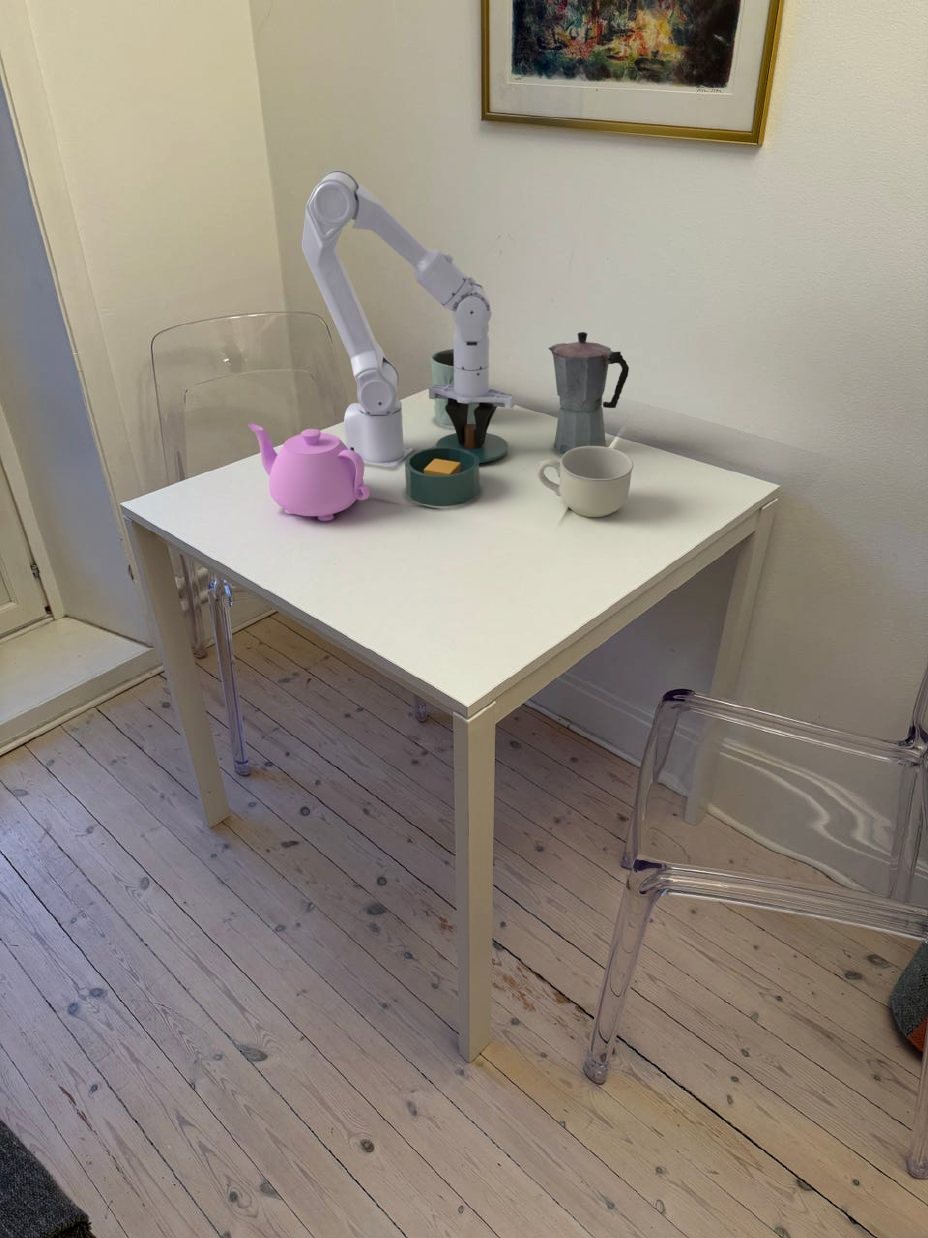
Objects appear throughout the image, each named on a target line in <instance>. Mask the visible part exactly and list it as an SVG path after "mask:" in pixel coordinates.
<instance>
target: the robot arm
mask: <svg viewBox="0 0 928 1238" xmlns="http://www.w3.org/2000/svg"><path fill="white" fill-rule="evenodd" d="M351 220H354V222H353V224H352V229H354V230H355V229H356V230H365V231H372V232H373V233H375V234H376V235H377V236H378V237H379V238H380V239H382V240H383V241H384V242H385V243H386V244H387V245H388V246H390V247H391V248H392V249H393V250H394V251H396V253H397V254H398V255H400V256H401V257H402V258H403V259H404V260H406V262H408V264H410V265H411V266H412V267H413V278H414V281H415V282H417V283H418V285H420V286H421V287H422V288H423V289H424V290H425V291H426V292H427V293H429V294H430V295H431V296H432V297H433V298H434V300H436V301H437V302H438V303H439V304H440V305H441V306H442V307H443V308H445V309H448V310H450V311H451V312H452V313H451V315H452V319H453V322H454V334H453V349H454V385H438V384H433V383H432V384H431V385H430V386H429V387H428V398H429V400H434V399H436V398H439V399H446V400H448V402H447V405H446V406H445V410H446V412H447V414H448V415H449V417H450V419H451V421H452V423H453V425H454V426H453V427H454V430H455V433H456V434H457V437H458V441H459V444H461V445H463V444H464V426H465V425H467V416H468V406H469V403H475V404H479V406H478V407H477V408H476V409H475V410H474V416H475V422H476V423H475V424H476V447H481V446H482V445H483V444H484V442H485V437H486V433H488V428H489V426H490V424H491V421H492V419H493V416H494V414H495V412H496V410H497V408H502V409H503V408H504V410H506V411H507V410H508V411H511V410H512V409H513V408H514V407H515V405H516V404H515V403H516V394H512V393H506V392H504V391H501V390H497V389H493V388H490V335H489V330H490V324H489V322H490V320H491V317H492V311H491V306H490V305H491V304H490V299H489V296H488V293H487V292H486V291H485V289H484V287H483V285H481V284H480V283H477V282H476V279H475V278H474V277H473V276H470V277H468V275H466V274H465V273H464V272H463V271H462V270H461V269H460V268H459V267H458V266H457V265H456V264H455V263H454V262H453V261H454V256H453V255H452V254H451V253H450V252H449V251H446V252H445V253H444V252H443V251H442V250H441V249H437V248H436V249H433V248H431V249H430V248H426V247H425V245H424V244H422V242H421V241H420V240H419V239H418V238H417V237H416V236H415V235H414V234H413V233H412V232H411V231H410V230H409V229H408V227H406V226H405V224H404V223H403V222H401V220H400V219H399V218H398V217H397V216H396V215H395V214H394V213H393V212H392V211H391V210H390V208H388V206H386V205H385V204H384V203H383V202H382V201H381V199H380V198H378V197H377V196H376V195H375V194H374V193H373V192H372V191H371V190H370V189H368V188H367V187H366V186H365V185H363V184H362V183H360V185H359V183H358V181H357V180H356V178H355V177H354V176H353V175H351V174H350V172H347V171H345V170H341V169H335V170H330V171H328V172H327V173H325V174H324V175H323V177H321V179H320V181H319V182H318V183H317V184H316V185H315V187H314V189H313V190H312V193H311V194H310V197H309V199H308V200H307V202H306V204H305V214H304V223H303V224H304V225H303V232H302V239H301V251H302V253H303V255H304V258H305V260H306V262H307V264H308V266H309V270H310V271H311V273H312V276H313V278H314V280H315V282H316V283H315V284H316V285H317V287H318V289H319V291H320V294H321V296H322V298H323V300H324V303H325V305H326V307H327V310H328V312H329V314H330V316H331V318H332V320H333V323H334V325H335V328H336V330H337V332H338V334H339V336H340V338H341V341H342V343H343V346H344V348H345V350H346V353H347V355H348V357H349V359H350V364H351V369H352V374H353V378H354V379H355V382H356V387H357V392H356V394H357V395H356V396H357V400H358V402H354V403H353V402H352V403H350V404H349V406H348V407H347V408H346V409H345V413H344V417H343V433H344V441H345V442H344V444H345V445H346V447H347V448H348V449H349V450H352V451H355V452H356V453H358V454H359V455H360V456H361V457H362V459H363V462H364V463H369V464H374V465H380V466H386V467H396V466H397V465H398V464H399V463H401V461H403V460H404V458H406V457H408V456H409V455H410V453H412V452H413V451H414V448H412V447H407V446H405V445H404V427H403V425H404V424H403V423H404V422H403V405H402V401H401V400H400V398H398V392H397V391H398V386H399V383H400V374H399V372H398V371H399V370H398V369H397V367H396V366H395V365H394V363H392V362H391V361H390V360H389V359H388V357H386V355H385V352H384V350H383V349H382V347H381V346H380V345H379V344H378V342H377V340H376V337H375V336H374V333H373V331H372V328H371V326H370V323H369V321H368V319H367V315H365V312H364V309H363V307H362V304H361V302H360V300H359V298H358V295H357V292H356V290H355V288H354V286H353V283H352V280H351V278H350V275H349V274H348V272H347V270H346V267H345V264H344V262H343V260H342V258H341V255H340V252H339V250H338V248H337V247H338V243H339V239H340V237H341V234H342V231H343V230H344V229H345V228H346V227H347V225H348V223H349V222H350V221H351Z"/></svg>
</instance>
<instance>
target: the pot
mask: <svg viewBox="0 0 928 1238" xmlns="http://www.w3.org/2000/svg"><path fill="white" fill-rule="evenodd" d="M434 459H441V460H447V461H453V462H459V463H461V473H457V474H451V475H431V474H425V473H424V469H425V468H426V467H427V466H428V465H429V464H430V463H431V462H432V461H433V460H434ZM404 471H405V489H406V490H405V491H406V495H407V496H408V497H409V499H410V500H412V501H415V502H416V503H419V504H418V506H419V507H423V508H426V509H433V510H440V508H439V507H453V506H456V505H461V504H465V503H467V502H469V501H471V500H473V499H475V498H476V497H477V496H478V494H479V493H480V463H479V458H478V457H477V456H476V455H475V454H474V453H473V452H470V451H468V450H465V449H462V448H456V447H435V446H432V447H426V448H422V449H419V450H417V451H414V452H411V454H408V455H407V456H406V457H405V461H404Z"/></svg>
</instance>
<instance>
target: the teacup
mask: <svg viewBox="0 0 928 1238" xmlns="http://www.w3.org/2000/svg"><path fill="white" fill-rule="evenodd" d="M546 468H554V470H555V471H556V473H557V477H558V478H559V484H558V483H555V482H553V481H551V480H550V479H549V478H548V477H547V476H546V475H545V470H546ZM633 469H634V462H633V460H632V458H631V457H630V456H629V455H628V454H626V453H625V452H623V451H621V450H619V449H615V448H612V447H608V446H606V447H602V446H583V447H578V448H574V449H571V450H569V451H567V452H566V453H565V454H562V456H561V457H560V462H559V460H557V459H555V458H554V459H553V458H547V459H544V460H542V461H541V462H540V463H539V465H538V467H537V478H538V479H539V481H540V482H541V483H542V485H544V486H545V487H546V488H548V489H550V490H551V491H553V492H554V493H555V495H556V496H557V497H560V498H561V500H562V502H563V503H564V504H565V506H567V507H568V508H569V509H570V510H571V511H573V513H576V514H577V515H579V516H583V517H587V518H603V517H606V516H609V515H611V514H613V513H614V512H616V511H618V510H620V509H621V508H622V507H623V506H624V504H625V503H626V501H627V499H628V496H629V492H630V486H631V481H632V471H633Z"/></svg>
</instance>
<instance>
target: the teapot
mask: <svg viewBox="0 0 928 1238" xmlns="http://www.w3.org/2000/svg"><path fill="white" fill-rule="evenodd" d="M247 426H248V427H249V429H251V430H252V432H253V433H254V434H255V436H256V438H257V440H258V444H259V451H260V459H261V465H262V467H263V469H264V471H265V472H266V474H267V475H268V476H269V494H270V497H271V498H272V500H273V501H274V502H275V503H276V504H277V505H278V506H279V507H281V508H282V509H284V512H285V513H286V514H288V515H297V516H304V517H317V519H318V520H319V521H321V522H329V521H331V520H333V519H334V518H335V516H334V514H337V513H339V512H343V511H345V510H346V509H348V508H350V507H351V506H352V505H353V504H354V503H355V502H356V501H357V500H358V501H365V500H367V499H368V498H369V497H370V494H371V490H370V488H369V487H368V486H367V485H365V483H364V475H365V462H363V459H362V457H361V456H360V455H359V454H358V453H356V452H355V451H352V450H349V449H348V448H347V447H346V443H345V442H343V440H341V439H340V438H339V437H338V436H337V435H334V434H331V433H328V432H321V430H320V429H316V428H307V429H304V430H302V431H301V433H300V434H296V435H294V436H291V437H289V438H288V439H287V440H285V441H284V443H283V444H282V446H281V447H280V449H279V451H278V453H277V452H276V450H275V448H274V447H273V446H274V445H273V444H272V441H271V438H270V436H269V434H268V432H267V431H266V429H264V428H263V427H262V426H260V425H258V424H256V423H250V422H249V423H247Z"/></svg>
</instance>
